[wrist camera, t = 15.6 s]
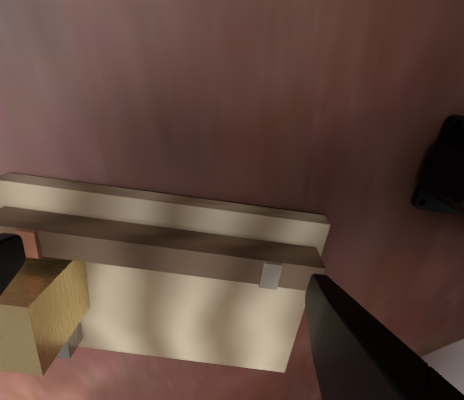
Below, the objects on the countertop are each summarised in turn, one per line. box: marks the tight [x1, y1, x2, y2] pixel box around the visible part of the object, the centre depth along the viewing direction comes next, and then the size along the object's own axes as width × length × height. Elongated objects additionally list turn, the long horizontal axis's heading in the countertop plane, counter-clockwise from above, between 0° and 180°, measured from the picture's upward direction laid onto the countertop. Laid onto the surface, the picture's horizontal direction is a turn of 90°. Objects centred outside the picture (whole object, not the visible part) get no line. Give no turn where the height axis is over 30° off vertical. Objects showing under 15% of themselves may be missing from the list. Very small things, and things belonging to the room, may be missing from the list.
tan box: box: [0, 256, 90, 376], centre depth 20 cm, size 4×10×6 cm, turn 172°
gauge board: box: [0, 173, 330, 372], centre depth 22 cm, size 24×16×4 cm, turn 83°
